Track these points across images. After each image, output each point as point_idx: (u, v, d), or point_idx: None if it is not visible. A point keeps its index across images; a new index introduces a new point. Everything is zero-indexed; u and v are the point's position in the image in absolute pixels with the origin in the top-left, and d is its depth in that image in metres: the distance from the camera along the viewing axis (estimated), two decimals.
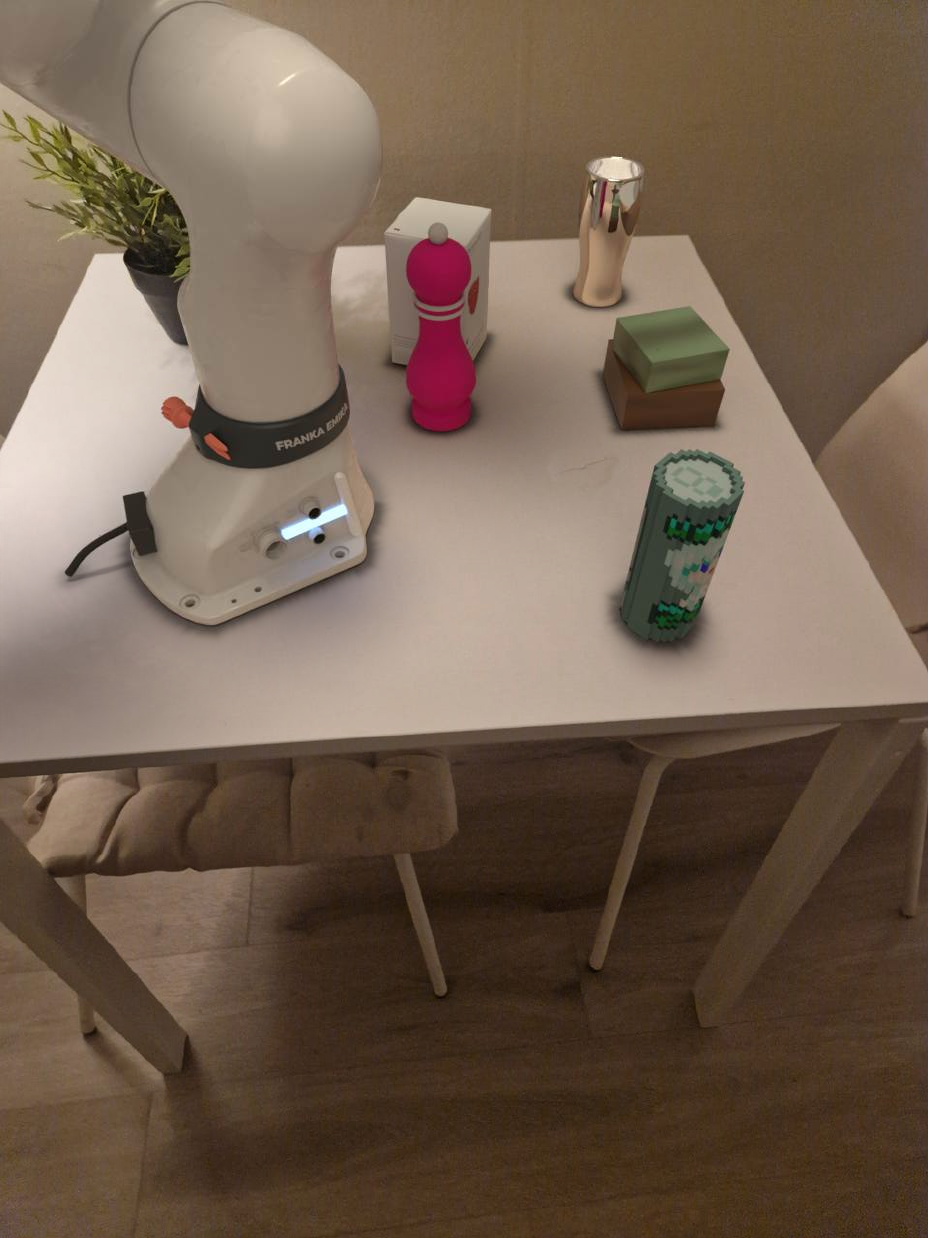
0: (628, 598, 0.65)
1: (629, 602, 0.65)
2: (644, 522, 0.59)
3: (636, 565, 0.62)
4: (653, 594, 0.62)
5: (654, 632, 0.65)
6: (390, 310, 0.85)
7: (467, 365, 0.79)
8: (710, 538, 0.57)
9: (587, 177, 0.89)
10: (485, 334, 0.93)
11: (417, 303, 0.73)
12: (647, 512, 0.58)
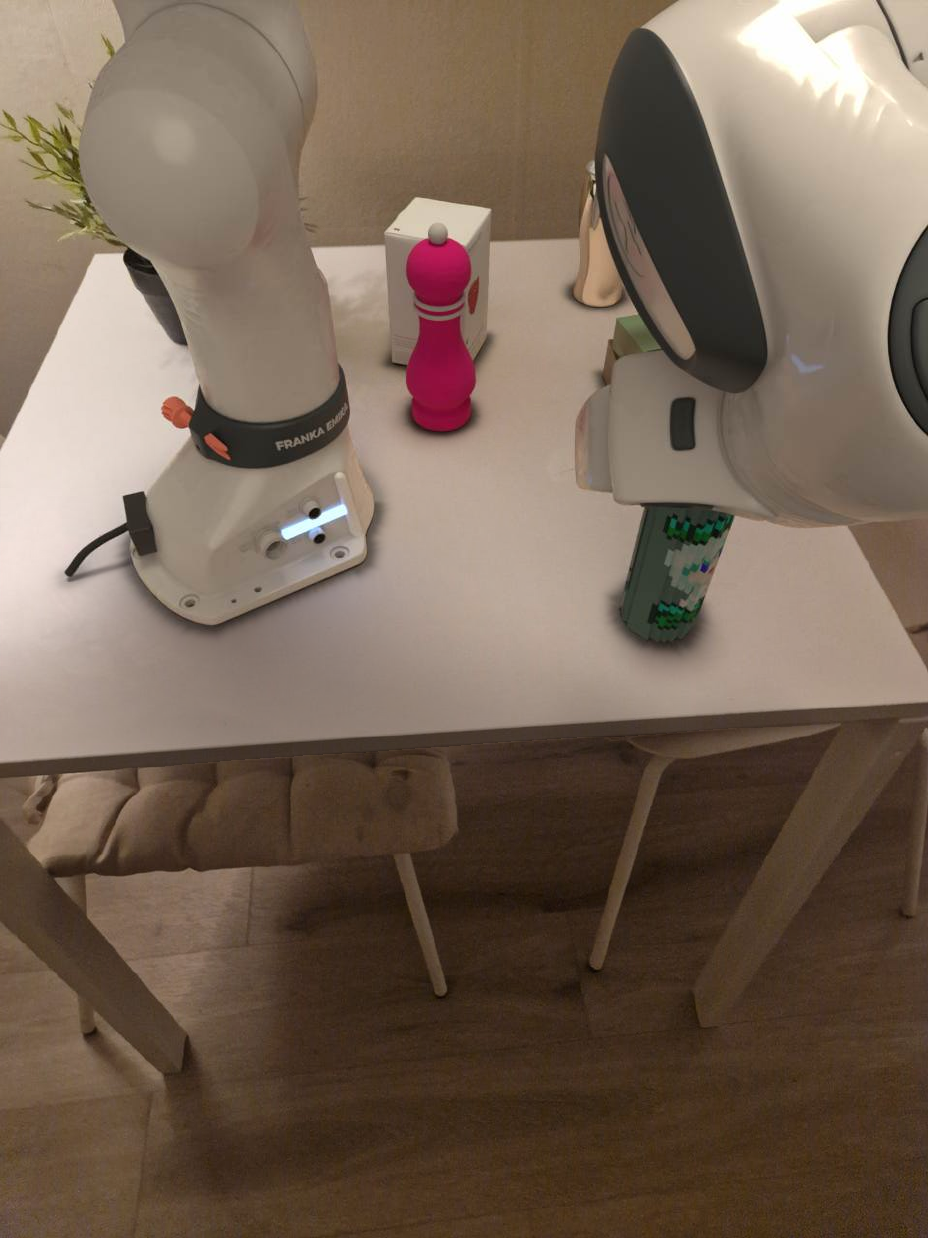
0: (628, 598, 0.65)
1: (629, 602, 0.65)
2: (644, 522, 0.59)
3: (636, 565, 0.62)
4: (653, 594, 0.62)
5: (654, 632, 0.65)
6: (390, 310, 0.85)
7: (467, 365, 0.79)
8: (710, 538, 0.57)
9: (587, 177, 0.89)
10: (485, 334, 0.93)
11: (417, 303, 0.73)
12: (647, 512, 0.58)
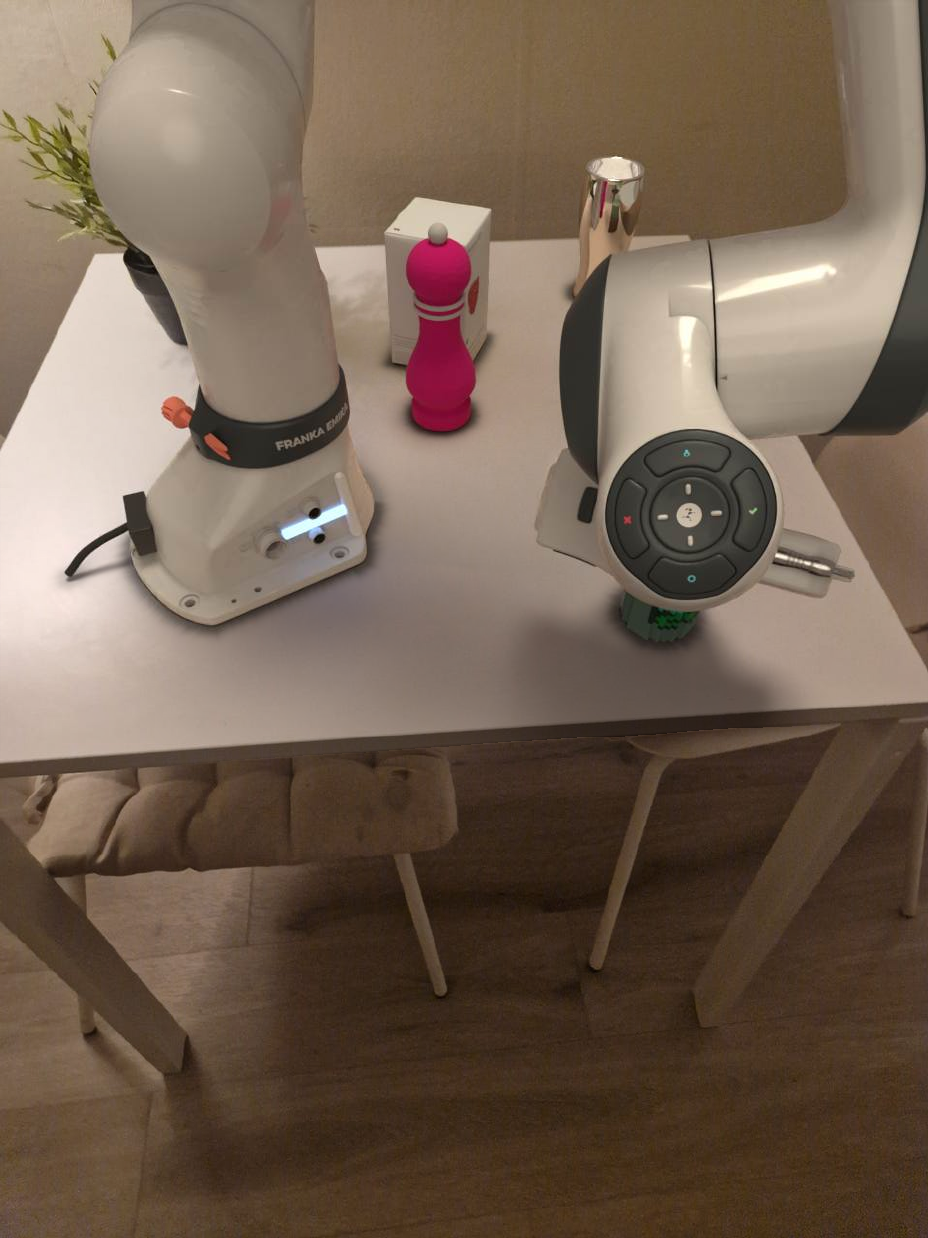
0: (628, 598, 0.65)
1: (630, 602, 0.65)
2: None
3: None
4: None
5: (654, 632, 0.65)
6: (390, 310, 0.85)
7: (467, 365, 0.79)
8: None
9: (587, 177, 0.89)
10: (485, 334, 0.93)
11: (417, 303, 0.73)
12: None
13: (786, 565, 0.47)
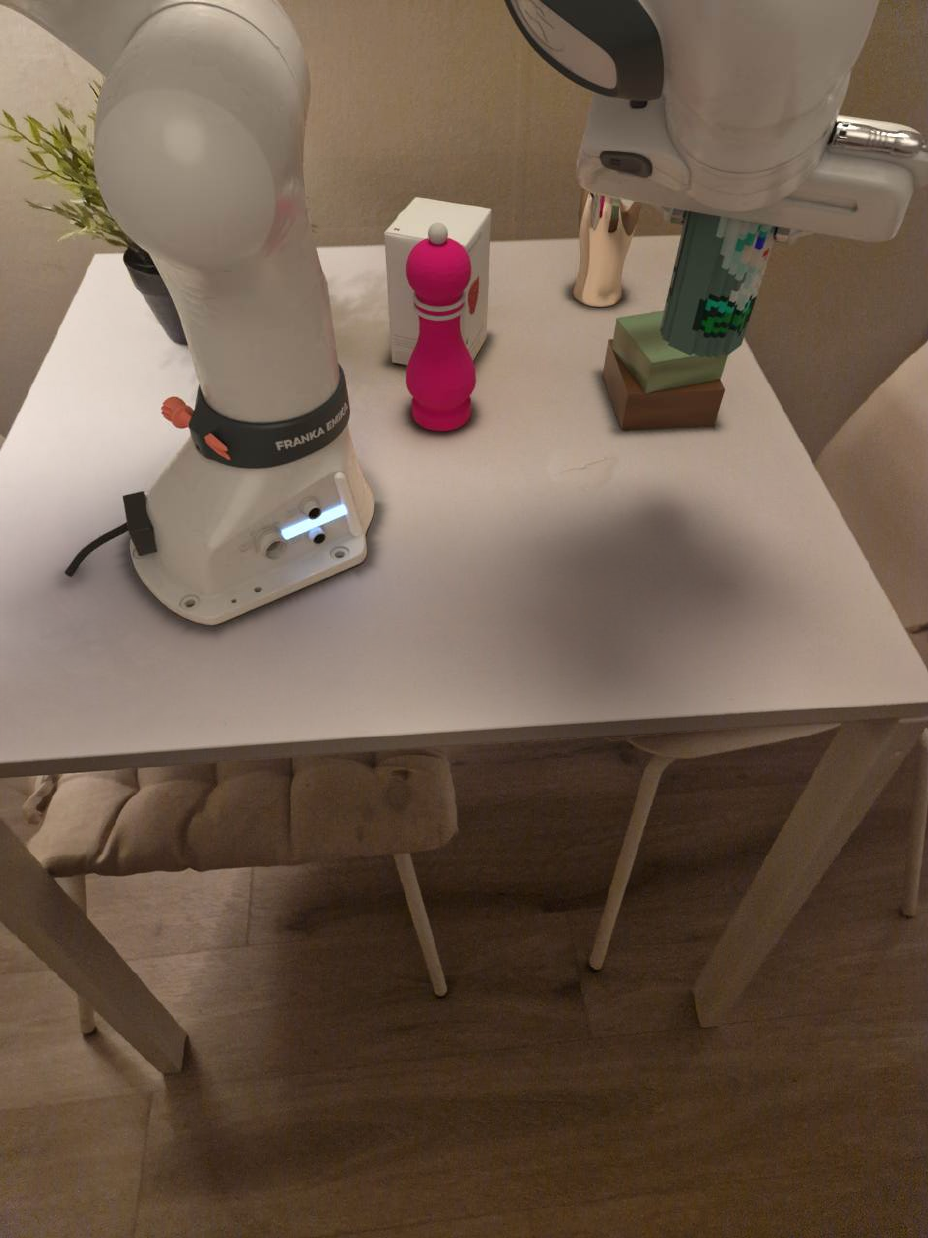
0: (671, 306, 0.60)
1: (673, 311, 0.60)
2: None
3: (683, 254, 0.57)
4: (701, 285, 0.57)
5: (699, 343, 0.60)
6: (390, 310, 0.85)
7: (467, 365, 0.79)
8: None
9: None
10: (485, 334, 0.93)
11: (417, 303, 0.73)
12: None
13: (867, 144, 0.42)
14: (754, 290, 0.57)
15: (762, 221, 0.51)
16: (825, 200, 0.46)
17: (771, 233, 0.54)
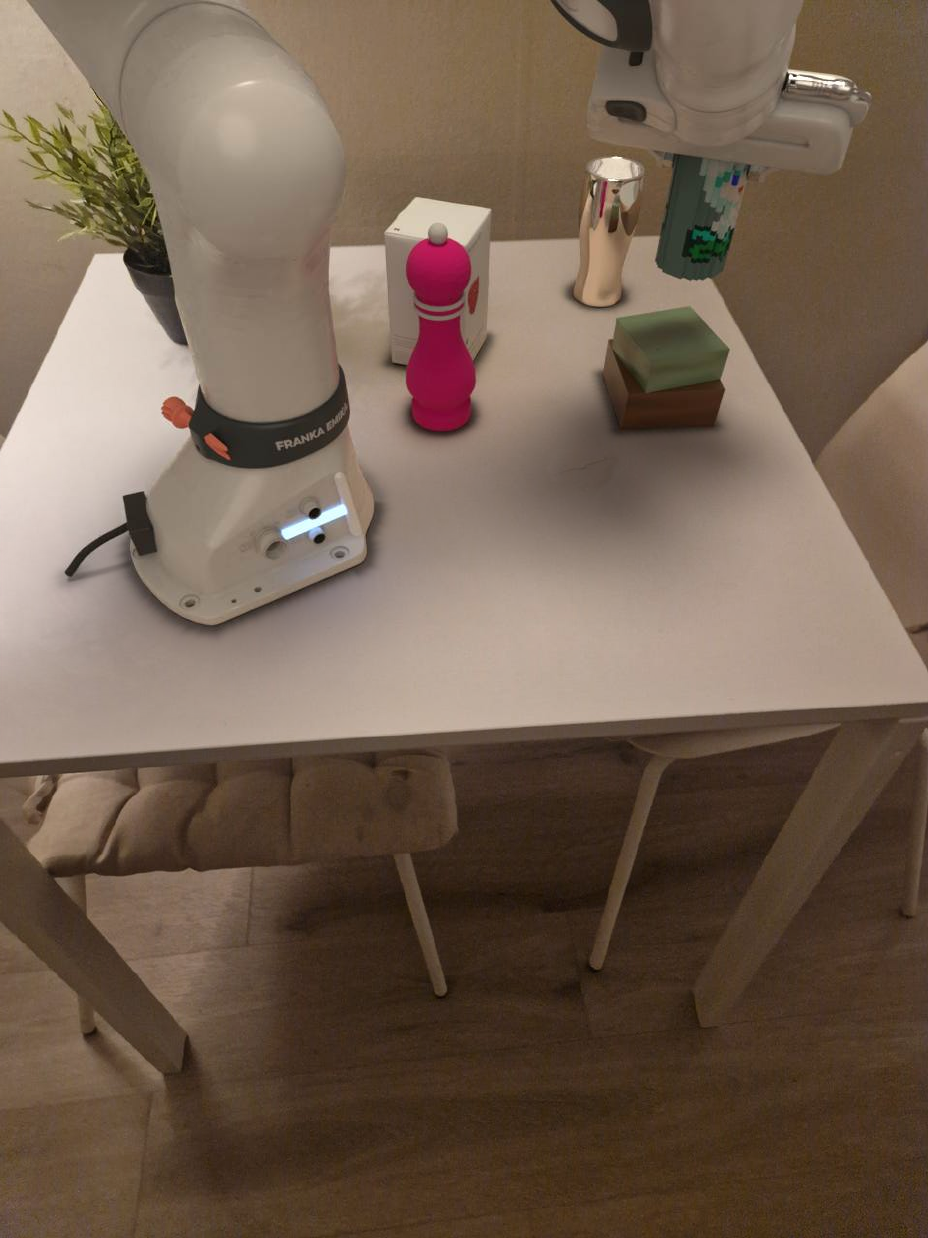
0: (664, 237, 0.72)
1: (665, 242, 0.72)
2: None
3: (673, 192, 0.69)
4: (688, 217, 0.69)
5: (687, 268, 0.72)
6: (390, 310, 0.85)
7: (467, 365, 0.79)
8: None
9: (587, 177, 0.89)
10: (485, 334, 0.93)
11: (417, 303, 0.73)
12: None
13: (812, 90, 0.54)
14: (732, 222, 0.70)
15: (735, 160, 0.63)
16: (783, 139, 0.59)
17: (744, 172, 0.67)
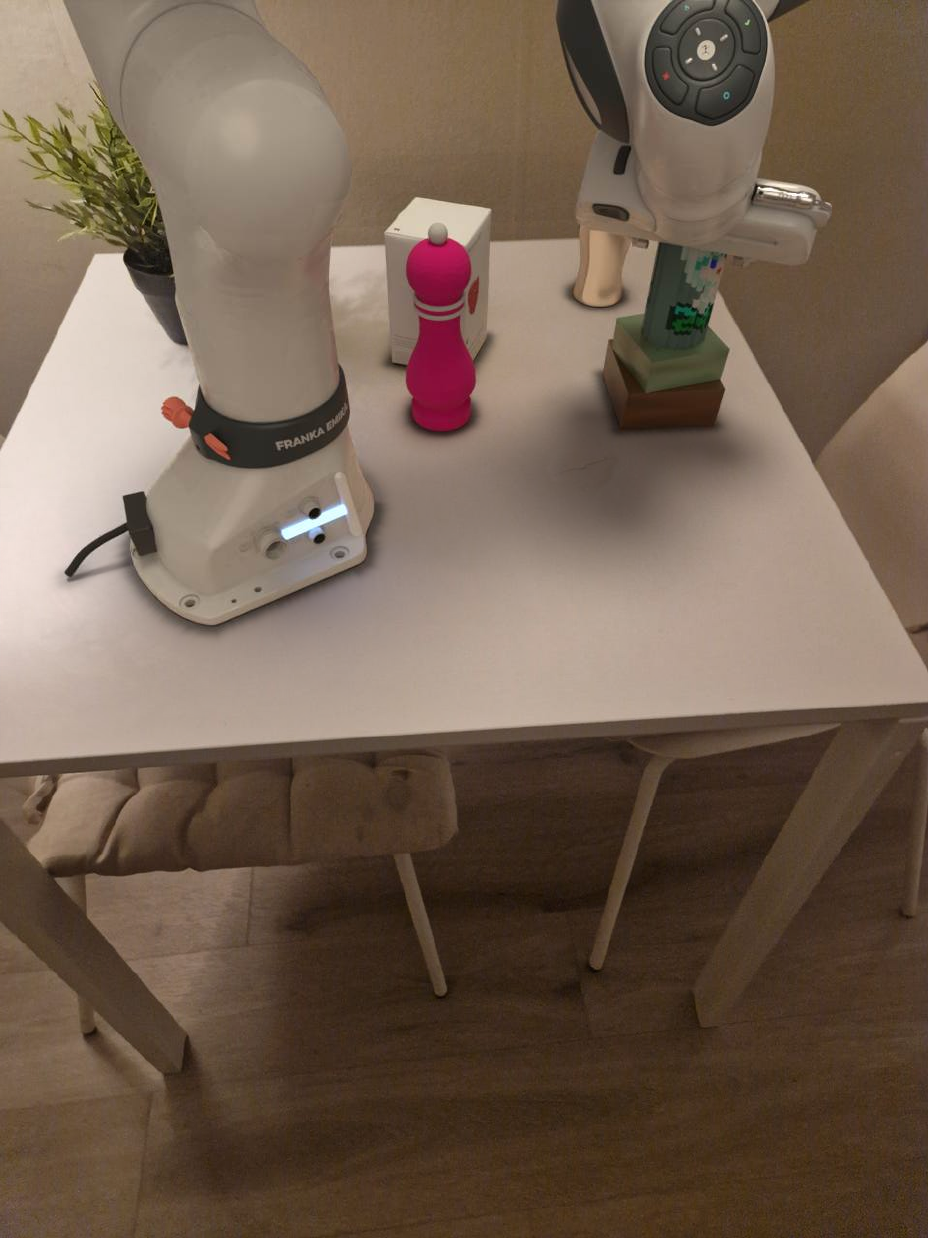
0: (649, 311, 0.78)
1: (650, 314, 0.78)
2: None
3: (656, 271, 0.75)
4: (671, 295, 0.75)
5: (671, 339, 0.78)
6: (390, 310, 0.85)
7: (467, 365, 0.79)
8: None
9: None
10: (485, 334, 0.93)
11: (417, 303, 0.73)
12: None
13: (778, 200, 0.60)
14: (711, 298, 0.75)
15: (712, 250, 0.69)
16: (754, 236, 0.65)
17: (722, 256, 0.72)
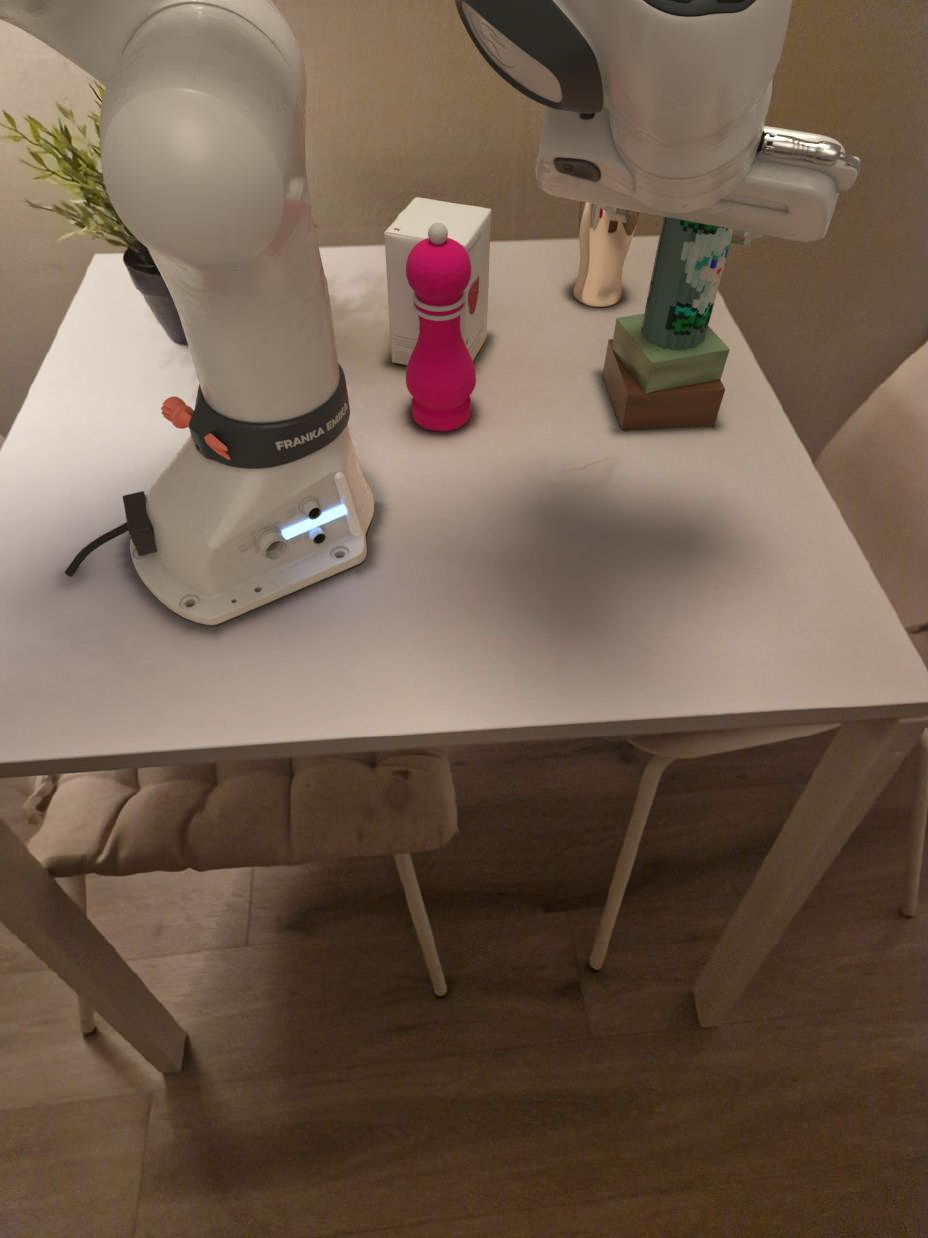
0: (649, 311, 0.78)
1: (650, 314, 0.78)
2: (664, 225, 0.72)
3: (656, 272, 0.75)
4: (671, 295, 0.75)
5: (671, 339, 0.78)
6: (390, 310, 0.85)
7: (467, 365, 0.79)
8: (718, 228, 0.70)
9: None
10: (485, 334, 0.93)
11: (417, 303, 0.73)
12: None
13: (792, 153, 0.46)
14: (711, 298, 0.75)
15: (706, 222, 0.55)
16: (759, 203, 0.51)
17: (722, 256, 0.72)
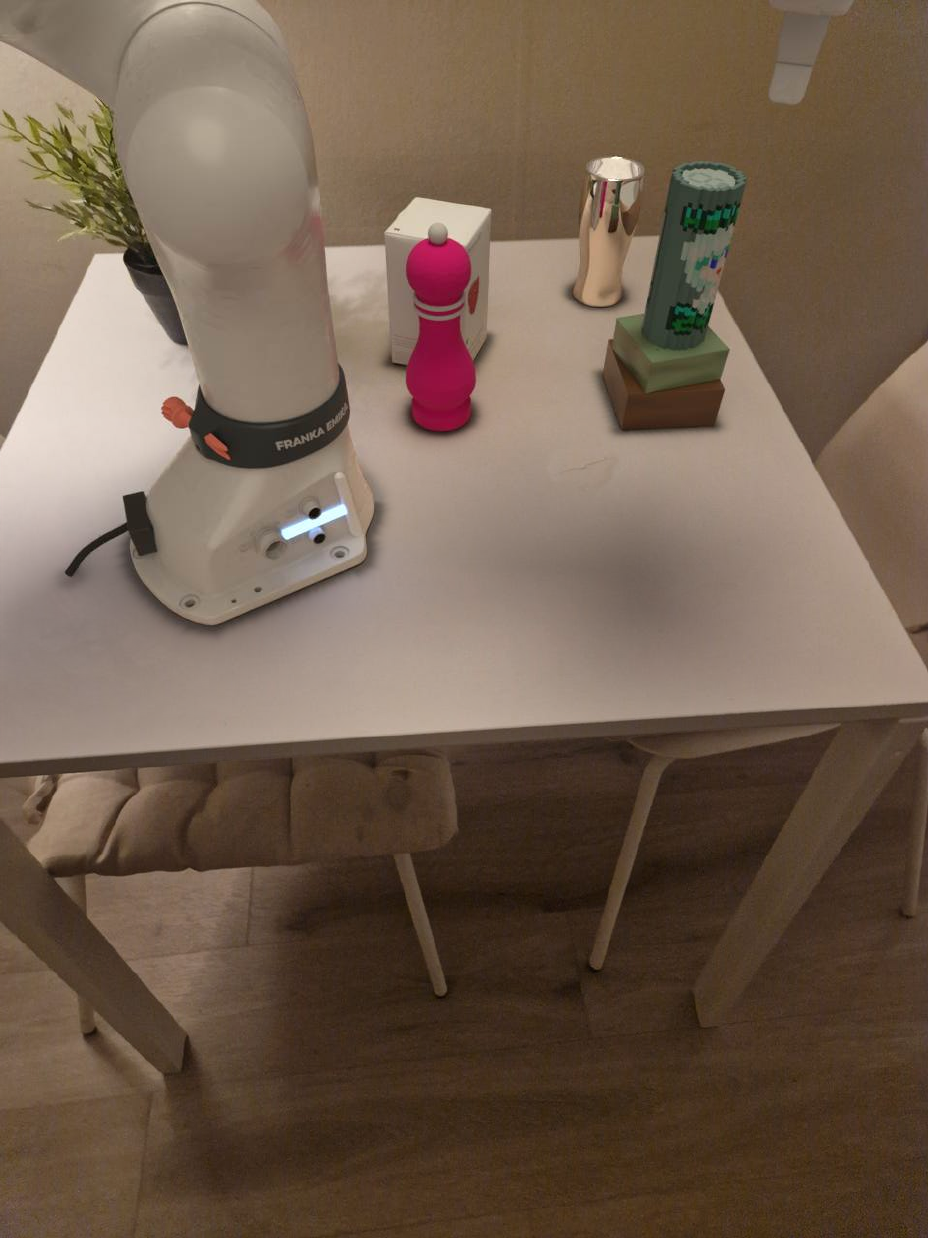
0: (649, 311, 0.78)
1: (650, 314, 0.78)
2: (664, 225, 0.72)
3: (656, 272, 0.75)
4: (671, 295, 0.75)
5: (671, 339, 0.78)
6: (390, 310, 0.85)
7: (467, 365, 0.79)
8: (718, 228, 0.70)
9: (587, 177, 0.89)
10: (485, 334, 0.93)
11: (417, 303, 0.73)
12: (666, 213, 0.71)
13: None
14: (711, 298, 0.75)
15: None
16: None
17: (722, 256, 0.72)
